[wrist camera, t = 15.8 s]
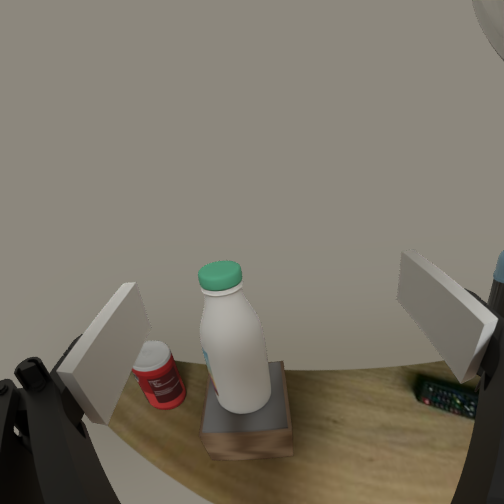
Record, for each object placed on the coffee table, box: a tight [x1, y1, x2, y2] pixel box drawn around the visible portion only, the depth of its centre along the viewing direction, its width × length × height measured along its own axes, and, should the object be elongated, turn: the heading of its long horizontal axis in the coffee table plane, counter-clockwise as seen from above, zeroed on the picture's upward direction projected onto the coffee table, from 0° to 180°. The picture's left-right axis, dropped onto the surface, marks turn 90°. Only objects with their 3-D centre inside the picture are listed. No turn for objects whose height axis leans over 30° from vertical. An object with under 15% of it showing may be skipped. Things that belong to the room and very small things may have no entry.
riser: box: [199, 361, 293, 460], centre depth 38 cm, size 12×14×8 cm
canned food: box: [132, 341, 186, 410], centre depth 45 cm, size 8×8×11 cm
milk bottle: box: [198, 261, 271, 414], centre depth 33 cm, size 8×8×20 cm
